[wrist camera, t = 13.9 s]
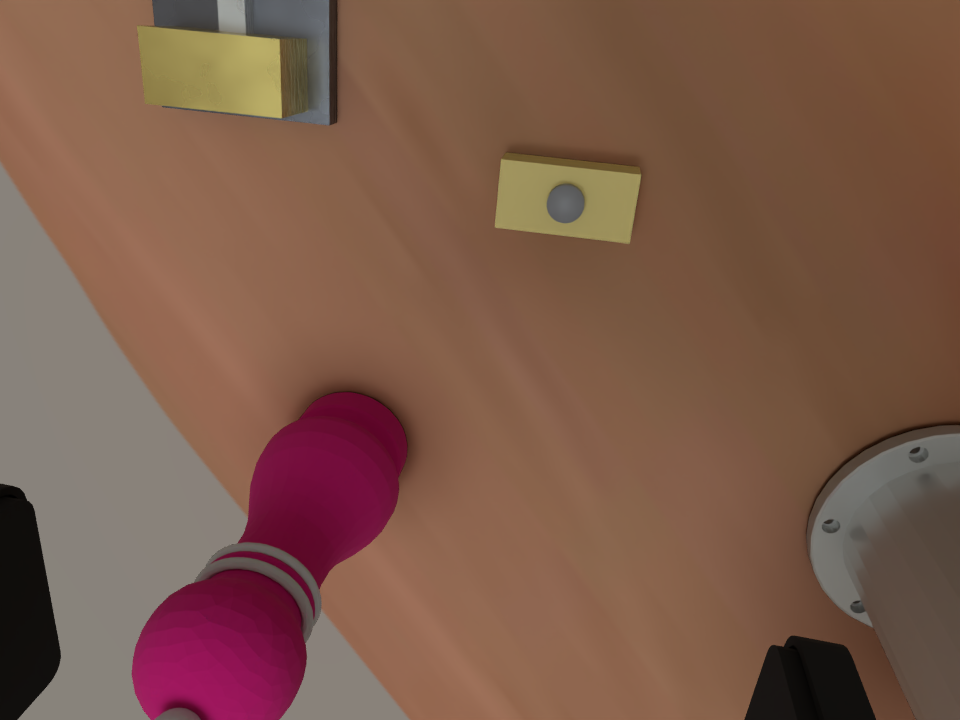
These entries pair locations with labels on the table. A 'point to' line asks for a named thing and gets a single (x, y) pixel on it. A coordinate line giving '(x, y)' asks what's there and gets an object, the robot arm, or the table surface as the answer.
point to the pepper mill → (273, 568)
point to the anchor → (567, 197)
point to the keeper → (243, 58)
